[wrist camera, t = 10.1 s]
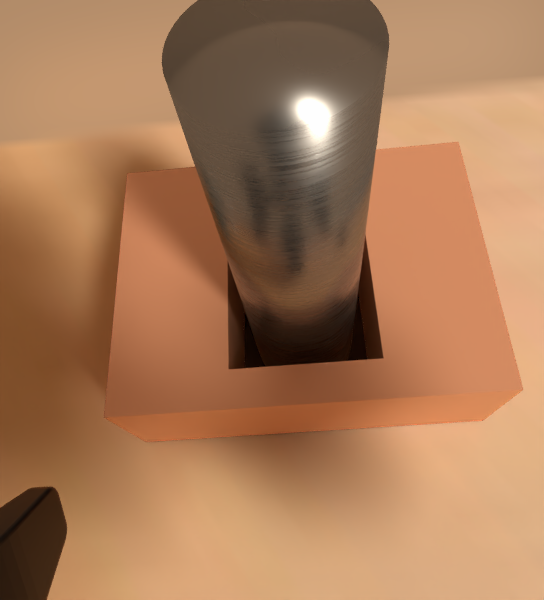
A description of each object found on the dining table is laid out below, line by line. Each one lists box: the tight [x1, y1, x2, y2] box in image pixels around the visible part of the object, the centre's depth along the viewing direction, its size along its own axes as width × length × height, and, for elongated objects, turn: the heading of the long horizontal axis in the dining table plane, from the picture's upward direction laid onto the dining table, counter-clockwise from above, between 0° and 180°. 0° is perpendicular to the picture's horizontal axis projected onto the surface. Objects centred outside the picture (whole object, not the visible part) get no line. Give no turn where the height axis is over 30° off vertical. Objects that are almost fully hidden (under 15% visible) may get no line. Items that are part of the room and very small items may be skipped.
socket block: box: [104, 142, 523, 442], centre depth 18 cm, size 9×12×4 cm
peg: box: [162, 0, 389, 367], centre depth 14 cm, size 4×4×13 cm
